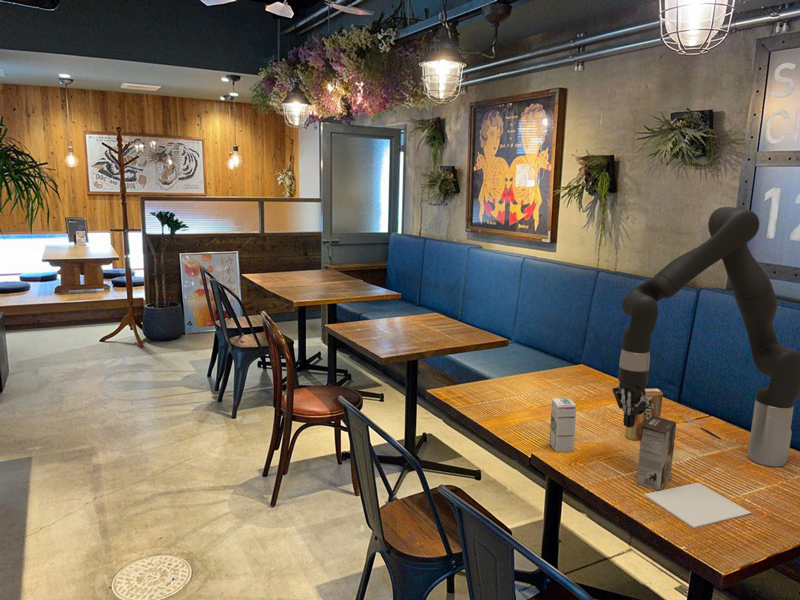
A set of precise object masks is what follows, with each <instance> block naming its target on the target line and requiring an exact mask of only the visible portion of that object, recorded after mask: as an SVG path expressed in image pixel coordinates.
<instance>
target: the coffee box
mask: <svg viewBox="0 0 800 600" xmlns="http://www.w3.org/2000/svg"><path fill="white" fill-rule="evenodd" d="M676 427H677V421H673V420H669V419H667V418H665V417H664V418H663V417H661V416H660V417H655V416H652V417H651V418H650V419H649V420H647V422H646V423H645V424H644V425H642V431H641V440H639V441H640V443H639V451H638V452H639V453H638V454H639V455H638V464H637V473H636V484H638V485H640V486H643V487H647V488H650V489H653V490H656V491H661V490H663V488H664V487H665V485H667V484H668V483H669V481H670V479H671V478H672V470H673V469H672V468H673V459H674V457H673V456H674V448H675V438H676V429H677V428H676Z"/></svg>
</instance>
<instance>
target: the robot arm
mask: <svg viewBox="0 0 800 600" xmlns="http://www.w3.org/2000/svg"><path fill="white" fill-rule="evenodd" d="M760 225H761V224H760V219H759V216H758V215H757V214H756V213H755V212H754V211H753V210H750V209H746V208H741V207H740V208H739V207H735V206H723V207H719V208H716V209H714V211H713V212H712V213H711V214H710V215H709V218H708V223H707V228H708V232H709V235H710V237H709V239H707V240H706V241H704V242H703V243H702V244H700V245H699V246H696V247H695V248H693V249H691V250H689V251H687V252H685V253H683V254H681V255H680V256H678V257H676V258H675V259H673V260H672V261H670V262H669V263H668V264H666V265H665V266H664V267H663V268H662V269H661V270H660V271H658V272H657V273H656V274H655V275H654V276H653V277H651V278H649V279H647V280H646V281H644V282H643V283H641V284H639V285H638V286H636V287H634V288H633V289H632V290H630V291H628V293H626V295H625V296H624V297H623V300H622V302H621V309H622V311H623V312H624V314H626V315H627V316H629V317H630V322H629V327H627V328H625V329H624V331H623V335H622V343H621V351H620V357H619V367H618V368H619V369H618V376H617V378H618V379H617V380H618V382H619V383H618V386H617V387H613V388H612V393H613V395H614V398H615V400H616V402H617V405H618V409H621V410H622V412H623V420H622V421H623V426H624V427H625V428H626V427H628V428H630V427H633V426H634V425H635V416H636V415H639V414H642V413H643V412H644V411H645V410H646V409H647V408H648V407H649V406H650V405H651V401H650V400H647V399H646V397H645V394H646V393H645V389H646V386H647V385H648V383H649V373H650V362H651V361H650V360H651V356H650V355H651V354H650V353H651V352H650V351H651V345H652V344H651V343H652V335H653V333H654V330H655V326H656V325H657V324H656V323H657V320H658V318H659V305H658V302H659V301H660V300H664V299H670V298H672V297H673V296H675V295H676V294H678V293H679V292H680V291H681V290H682V289H683V288H685V287H686V286H687V285H688V284H689V283H690V282H691V281H693V279H695V278H696V277H697V276H699V275H700V274H701V273H703V272H705V271H706V270H707V269H709V268H710V267H711V266H713V265H714V264H716V263H717V262H720V260H722V263H723V265H724V269H725V271H726V275H727V278H728V279H729V282H730V286H731V289H732V293H733V295H734V298H735V301H736V305H737V308H738V309H739V313H740V314H741V317H742V321H743V325H744V327H745V330H746V333H747V337H748V341H749V346H750V350H751V356H752V361H753V363H754V366H755V368H756V369H757V371H758V372H760V373H761V374H762V375H765V376H766V377H769V378H770V380H769V385H768V387H760V388H758V389H757V390H756V393H755V399H754V400H755V401H754V406H753V407H754V408H753V414H752V423H751V430H750V437H749V444H748V450H747V451H748V452H747V458H749V460H751V461H752V462H755V463H757V464H759V465H763V466H768V467H774V468H775V467H778V468H779V467H783V466H785V465H786V463H787V462H789V461H788V460H789V453H790V446H791V440H792V434H793V430H792V429H791V427H792V421H793V414H794V409H795V408H794V407H795V402H796V400H797V399H798V397H799V394H800V352H798V351H796V350H794V349H791V348H789V347H787V346H783V345H782V344H780V342H779V340H778V338H777V336H776V332H775V330H774V319H775V317H776V313H777V310H778V309H777V308H778V301H777V297H776V293H775V289H774V287H773V284H772V282H771V279H770V278H769V276H768V274H767V273H766V271H765V270H764V269H763V267H762V266H761V265H760V264H759V263H758V261H757V260H756V259H755V257H754V256H753V254H752V253H751V250H750V249H749V247H748V244H747V243H749V242H750V241H751V240H752V239H754V237H755V236H756V235H757V233H758V231H759V230H760Z"/></svg>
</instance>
